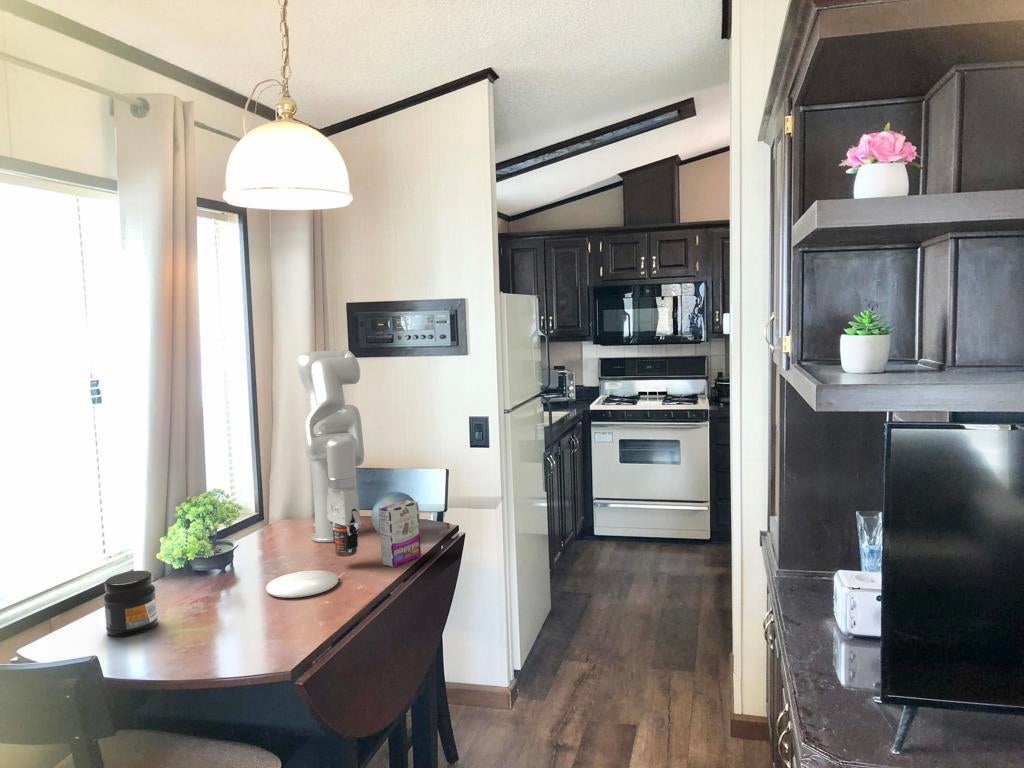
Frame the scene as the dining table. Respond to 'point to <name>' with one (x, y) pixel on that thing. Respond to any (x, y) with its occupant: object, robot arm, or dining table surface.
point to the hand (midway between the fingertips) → (345, 544)
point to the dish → (302, 584)
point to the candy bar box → (399, 533)
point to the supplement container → (130, 603)
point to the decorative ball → (386, 501)
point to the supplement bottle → (342, 541)
